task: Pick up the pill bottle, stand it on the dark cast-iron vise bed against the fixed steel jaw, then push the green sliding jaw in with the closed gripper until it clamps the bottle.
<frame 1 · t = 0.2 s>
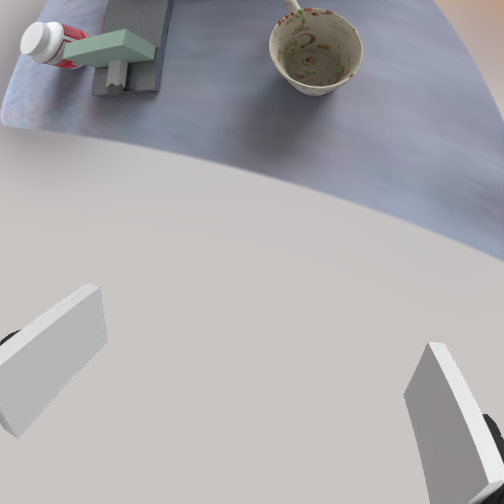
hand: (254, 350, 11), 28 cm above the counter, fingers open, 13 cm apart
vise base: (136, 28, 32), on the counter
pill bottle: (81, 51, 35), on the counter
mug: (306, 58, 31), on the counter
sliding jaw: (106, 68, 30), point 5 cm above the counter, slide at 0.0 cm
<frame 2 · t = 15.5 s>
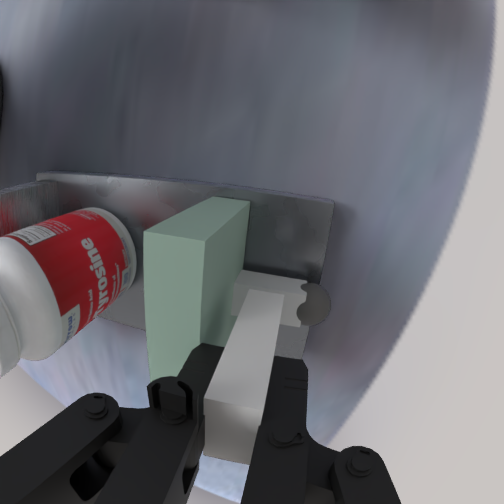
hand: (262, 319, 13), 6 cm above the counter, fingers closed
vise base: (159, 255, 20), on the counter
pill bottle: (102, 250, 19), point 1 cm above the counter, touching vise base
sliding jaw: (256, 320, 14), point 5 cm above the counter, slide at 0.2 cm, touching gripper
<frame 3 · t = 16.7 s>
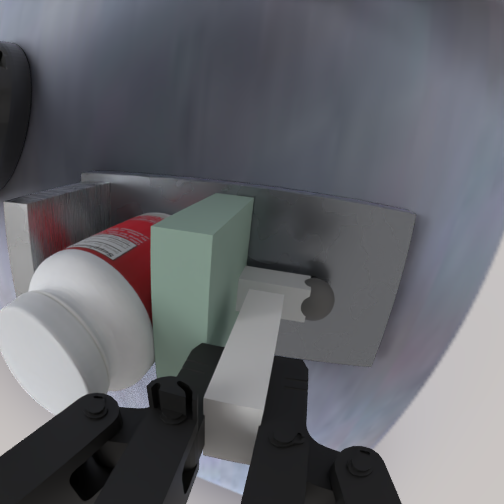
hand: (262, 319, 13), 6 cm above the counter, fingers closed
vise base: (229, 263, 19), on the counter
pill bottle: (164, 259, 18), point 1 cm above the counter, touching vise base
sliding jaw: (261, 315, 14), point 5 cm above the counter, slide at 4.7 cm
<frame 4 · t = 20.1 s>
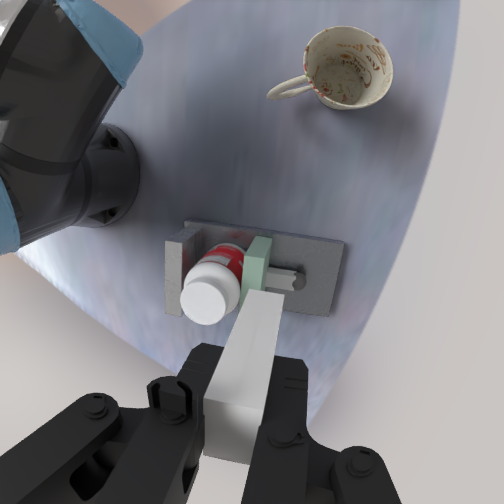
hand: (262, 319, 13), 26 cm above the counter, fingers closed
vise base: (259, 266, 41), on the counter
pill bottle: (228, 264, 40), point 1 cm above the counter, touching vise base
mug: (322, 91, 33), on the counter
sliding jaw: (276, 286, 36), point 5 cm above the counter, slide at 4.7 cm
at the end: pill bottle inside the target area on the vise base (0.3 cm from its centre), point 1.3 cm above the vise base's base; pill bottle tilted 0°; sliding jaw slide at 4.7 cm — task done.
